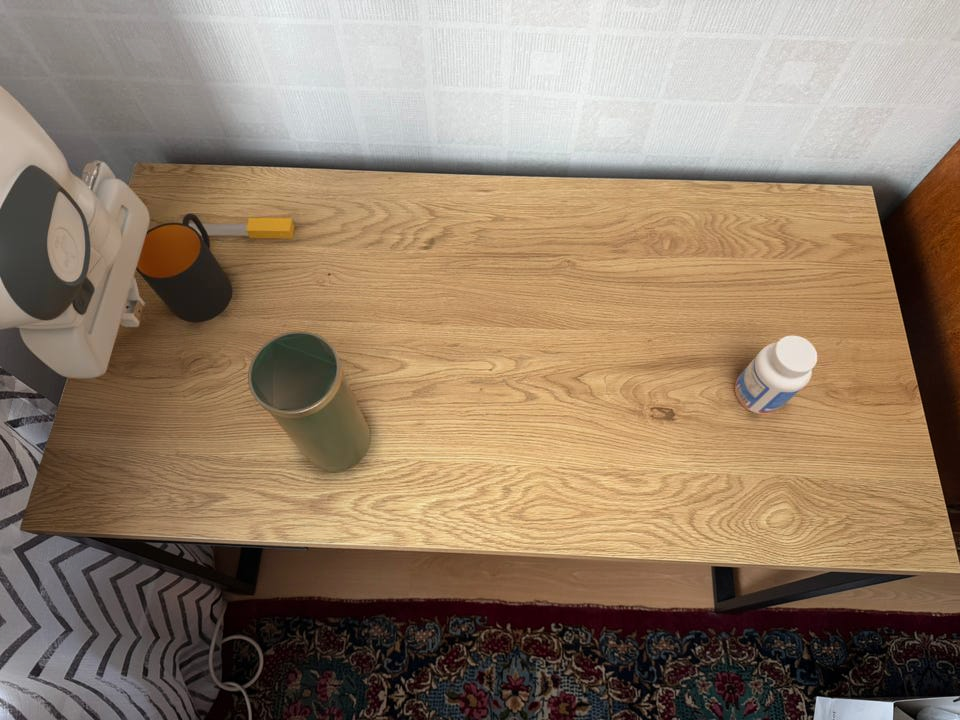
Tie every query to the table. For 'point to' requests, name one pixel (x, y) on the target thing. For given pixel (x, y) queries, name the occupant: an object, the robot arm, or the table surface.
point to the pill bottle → (776, 374)
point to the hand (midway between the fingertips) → (135, 315)
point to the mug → (184, 270)
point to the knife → (252, 229)
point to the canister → (310, 399)
